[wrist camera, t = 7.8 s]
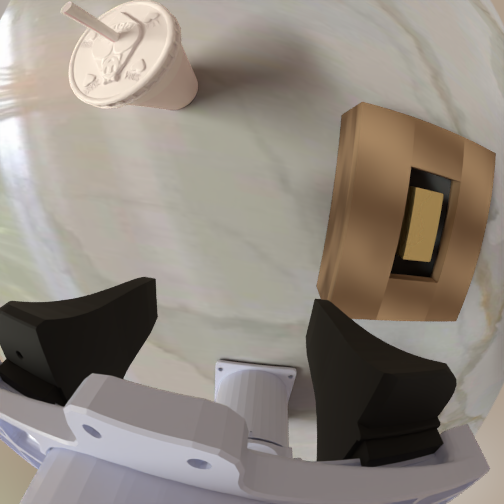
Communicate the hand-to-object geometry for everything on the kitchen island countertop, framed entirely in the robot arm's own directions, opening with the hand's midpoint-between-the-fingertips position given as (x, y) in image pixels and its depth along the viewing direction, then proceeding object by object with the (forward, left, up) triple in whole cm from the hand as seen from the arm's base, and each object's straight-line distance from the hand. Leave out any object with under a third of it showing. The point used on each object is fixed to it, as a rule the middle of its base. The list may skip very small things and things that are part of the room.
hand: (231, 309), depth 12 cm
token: (+4, -12, -10) cm, 16 cm away
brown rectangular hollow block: (+4, -12, -10) cm, 16 cm away
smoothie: (+12, +7, -11) cm, 17 cm away
